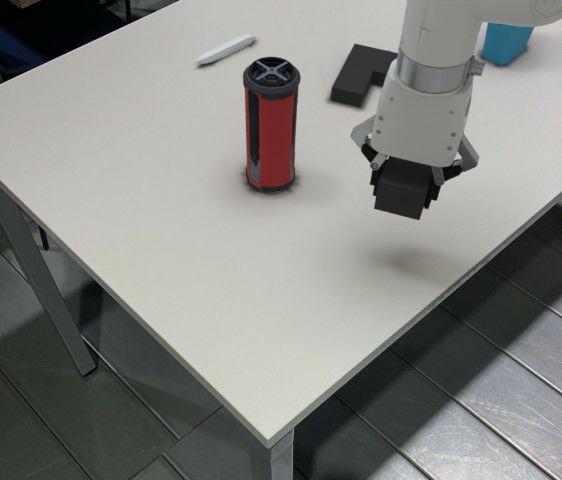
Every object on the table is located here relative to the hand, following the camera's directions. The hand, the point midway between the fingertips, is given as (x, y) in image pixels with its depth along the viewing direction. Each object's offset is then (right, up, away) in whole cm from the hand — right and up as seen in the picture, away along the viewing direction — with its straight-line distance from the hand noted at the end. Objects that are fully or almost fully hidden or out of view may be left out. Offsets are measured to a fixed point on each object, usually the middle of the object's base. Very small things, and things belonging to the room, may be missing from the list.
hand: (403, 194), depth 80 cm
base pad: (+4, +27, +30) cm, 40 cm away
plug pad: (0, 0, +1) cm, 1 cm away
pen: (-26, +36, +34) cm, 56 cm away
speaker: (-17, +8, +17) cm, 26 cm away
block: (+26, +37, +37) cm, 58 cm away
